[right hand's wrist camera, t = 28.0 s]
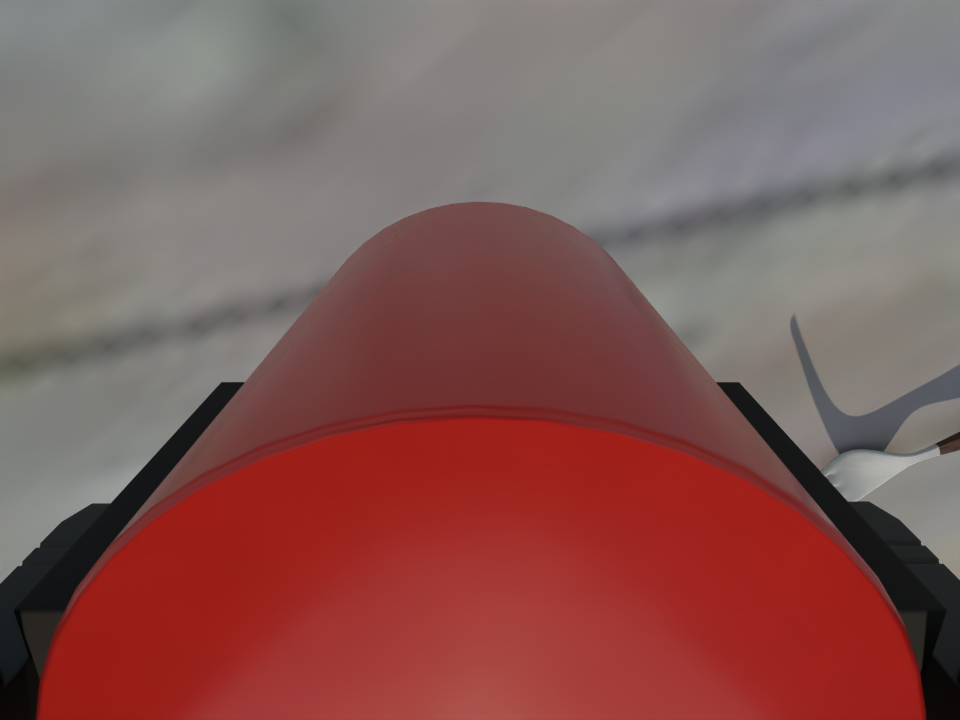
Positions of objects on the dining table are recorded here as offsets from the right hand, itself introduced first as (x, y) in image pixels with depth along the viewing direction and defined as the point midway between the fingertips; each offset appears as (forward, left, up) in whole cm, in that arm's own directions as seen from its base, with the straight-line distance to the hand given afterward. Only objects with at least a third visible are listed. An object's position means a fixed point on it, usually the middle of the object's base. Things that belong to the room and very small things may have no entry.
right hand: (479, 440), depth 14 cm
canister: (0, 0, -4) cm, 4 cm away
